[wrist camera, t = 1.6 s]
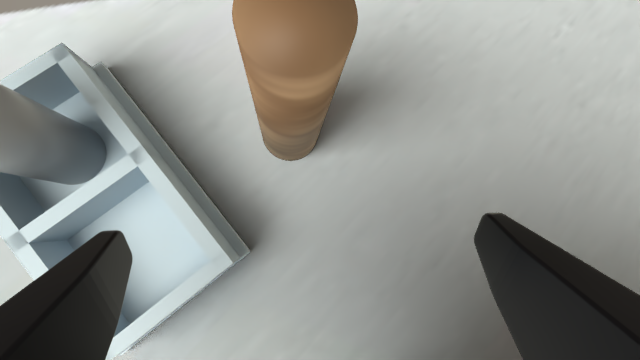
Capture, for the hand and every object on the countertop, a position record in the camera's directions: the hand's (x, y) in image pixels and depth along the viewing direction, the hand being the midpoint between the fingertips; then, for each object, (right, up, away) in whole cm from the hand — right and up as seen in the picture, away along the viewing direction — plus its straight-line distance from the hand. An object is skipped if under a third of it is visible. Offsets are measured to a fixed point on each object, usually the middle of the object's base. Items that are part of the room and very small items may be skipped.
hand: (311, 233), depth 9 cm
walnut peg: (-2, +4, +14) cm, 15 cm away
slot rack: (-12, 0, +12) cm, 17 cm away
